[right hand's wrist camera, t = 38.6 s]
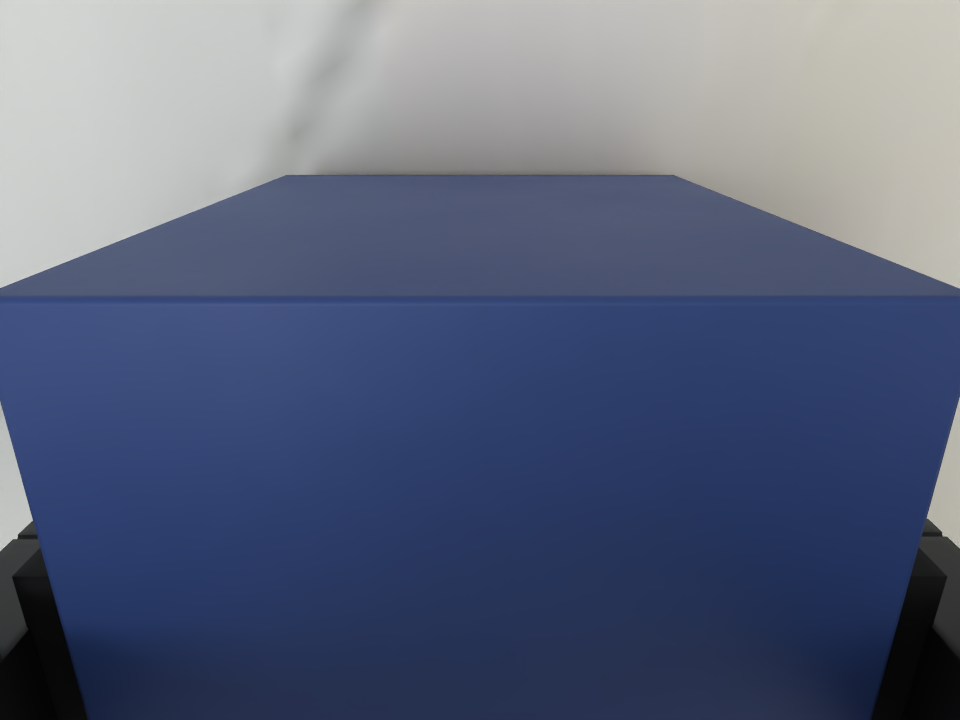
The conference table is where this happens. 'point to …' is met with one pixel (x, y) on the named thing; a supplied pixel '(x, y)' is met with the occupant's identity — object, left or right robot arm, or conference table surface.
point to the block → (479, 453)
